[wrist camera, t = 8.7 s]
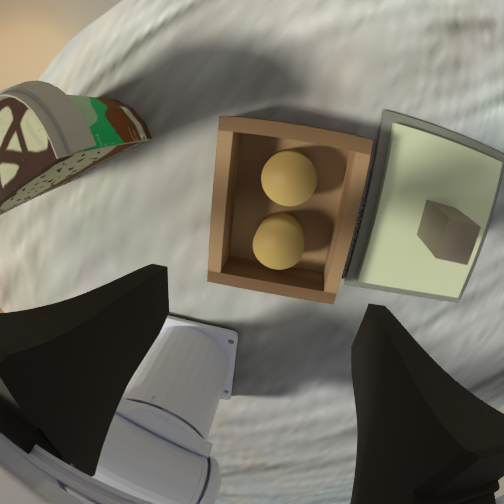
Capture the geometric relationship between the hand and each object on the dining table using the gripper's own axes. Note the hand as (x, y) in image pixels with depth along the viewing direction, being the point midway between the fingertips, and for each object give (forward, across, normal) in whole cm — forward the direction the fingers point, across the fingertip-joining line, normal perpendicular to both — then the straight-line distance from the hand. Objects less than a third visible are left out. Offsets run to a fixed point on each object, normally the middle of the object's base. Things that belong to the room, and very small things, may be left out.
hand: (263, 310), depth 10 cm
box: (+10, 0, -1) cm, 10 cm away
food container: (+10, +15, -5) cm, 19 cm away
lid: (+10, -10, -2) cm, 14 cm away
